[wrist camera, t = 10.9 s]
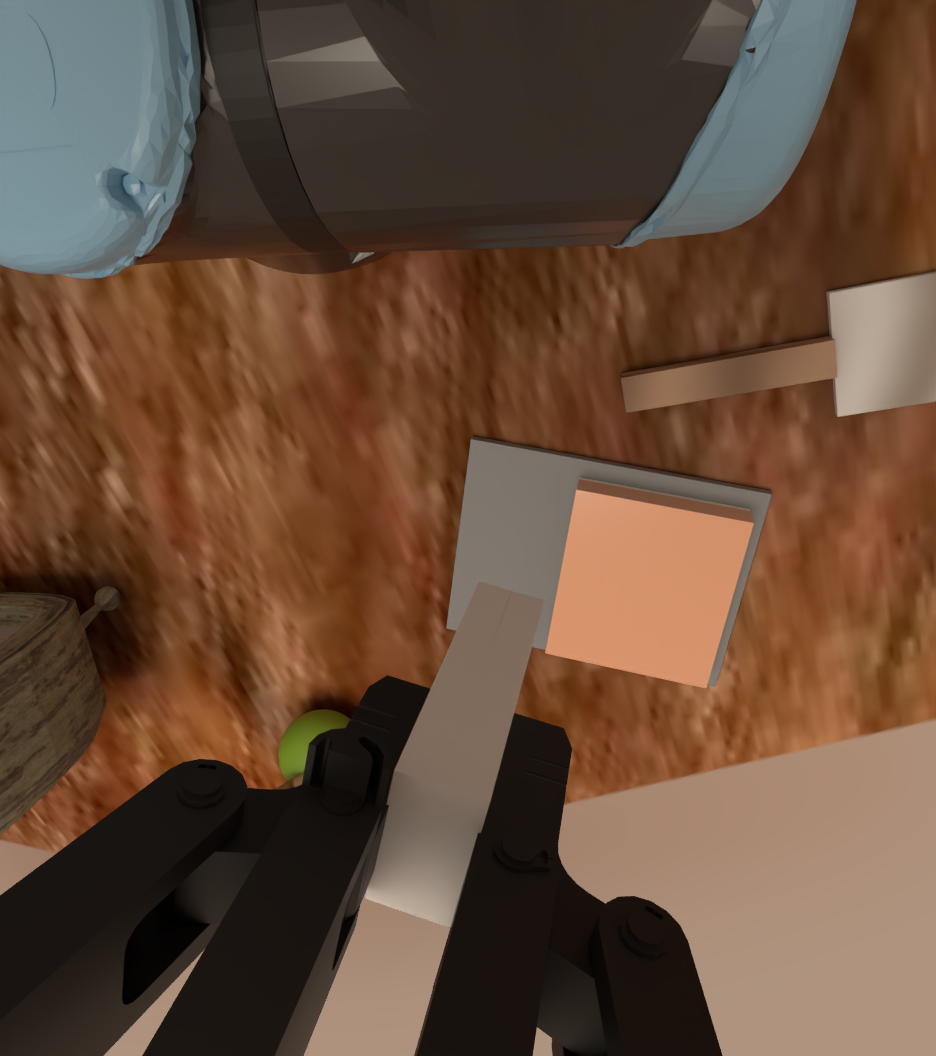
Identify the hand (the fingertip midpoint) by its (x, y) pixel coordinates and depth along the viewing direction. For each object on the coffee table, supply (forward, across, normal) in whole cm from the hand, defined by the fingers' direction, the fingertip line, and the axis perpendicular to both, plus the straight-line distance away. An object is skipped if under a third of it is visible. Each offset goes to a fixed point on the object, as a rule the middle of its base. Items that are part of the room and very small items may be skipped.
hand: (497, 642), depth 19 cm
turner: (+27, +10, +4) cm, 29 cm away
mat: (+27, +3, -10) cm, 29 cm away
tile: (+25, +1, -10) cm, 27 cm away
